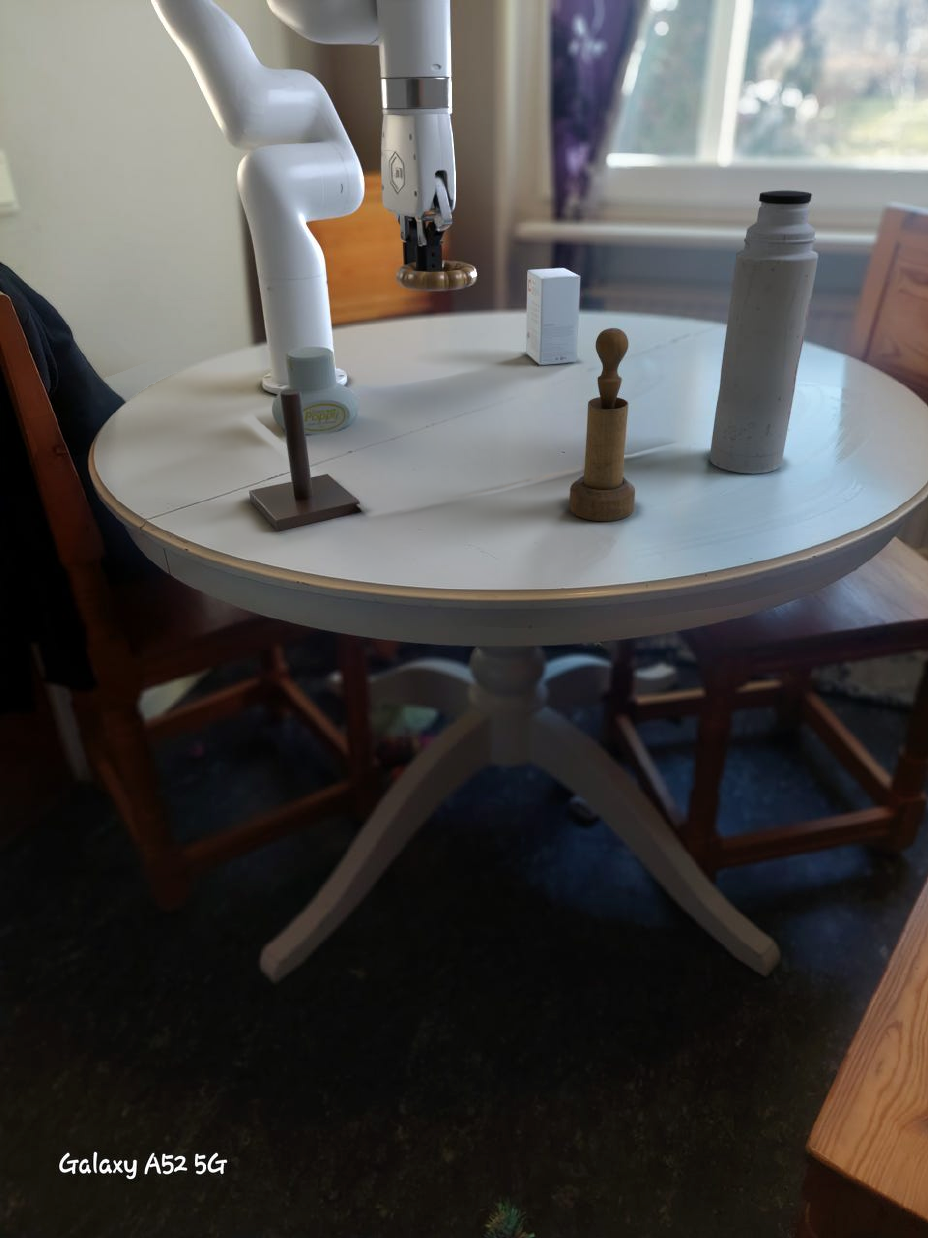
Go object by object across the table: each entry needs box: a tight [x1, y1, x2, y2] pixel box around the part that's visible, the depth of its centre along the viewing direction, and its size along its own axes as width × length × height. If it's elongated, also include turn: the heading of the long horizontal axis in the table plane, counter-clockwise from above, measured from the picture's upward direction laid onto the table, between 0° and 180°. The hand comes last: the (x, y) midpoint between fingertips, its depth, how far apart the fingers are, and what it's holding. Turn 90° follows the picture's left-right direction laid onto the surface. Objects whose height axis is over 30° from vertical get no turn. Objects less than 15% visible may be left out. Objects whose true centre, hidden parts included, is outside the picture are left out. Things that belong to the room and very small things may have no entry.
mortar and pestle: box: [568, 327, 636, 522], centre depth 85 cm, size 7×6×18 cm
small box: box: [525, 267, 581, 366], centre depth 137 cm, size 8×6×13 cm
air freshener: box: [271, 347, 360, 436], centre depth 110 cm, size 11×8×10 cm
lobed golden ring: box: [395, 259, 478, 292], centre depth 100 cm, size 9×9×2 cm
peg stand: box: [248, 389, 361, 532], centre depth 89 cm, size 9×9×12 cm
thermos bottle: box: [709, 189, 819, 475], centre depth 93 cm, size 8×8×28 cm
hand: (423, 277), depth 103 cm, fingers closed on lobed golden ring, 2 cm apart
